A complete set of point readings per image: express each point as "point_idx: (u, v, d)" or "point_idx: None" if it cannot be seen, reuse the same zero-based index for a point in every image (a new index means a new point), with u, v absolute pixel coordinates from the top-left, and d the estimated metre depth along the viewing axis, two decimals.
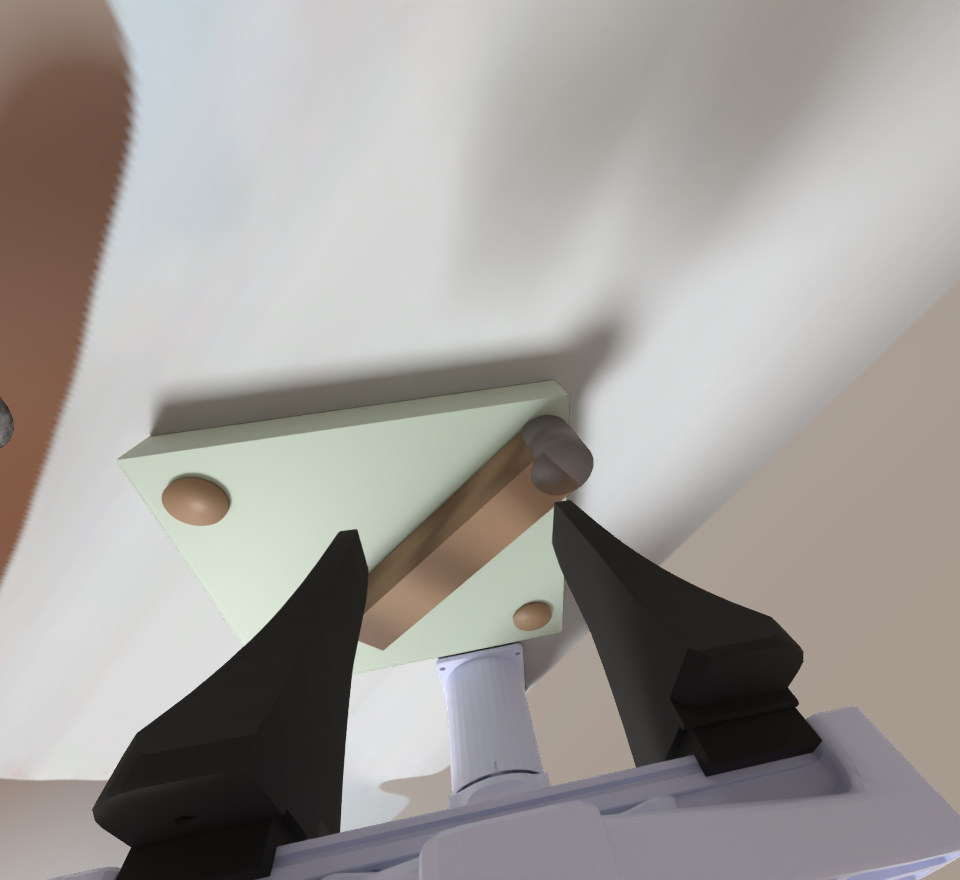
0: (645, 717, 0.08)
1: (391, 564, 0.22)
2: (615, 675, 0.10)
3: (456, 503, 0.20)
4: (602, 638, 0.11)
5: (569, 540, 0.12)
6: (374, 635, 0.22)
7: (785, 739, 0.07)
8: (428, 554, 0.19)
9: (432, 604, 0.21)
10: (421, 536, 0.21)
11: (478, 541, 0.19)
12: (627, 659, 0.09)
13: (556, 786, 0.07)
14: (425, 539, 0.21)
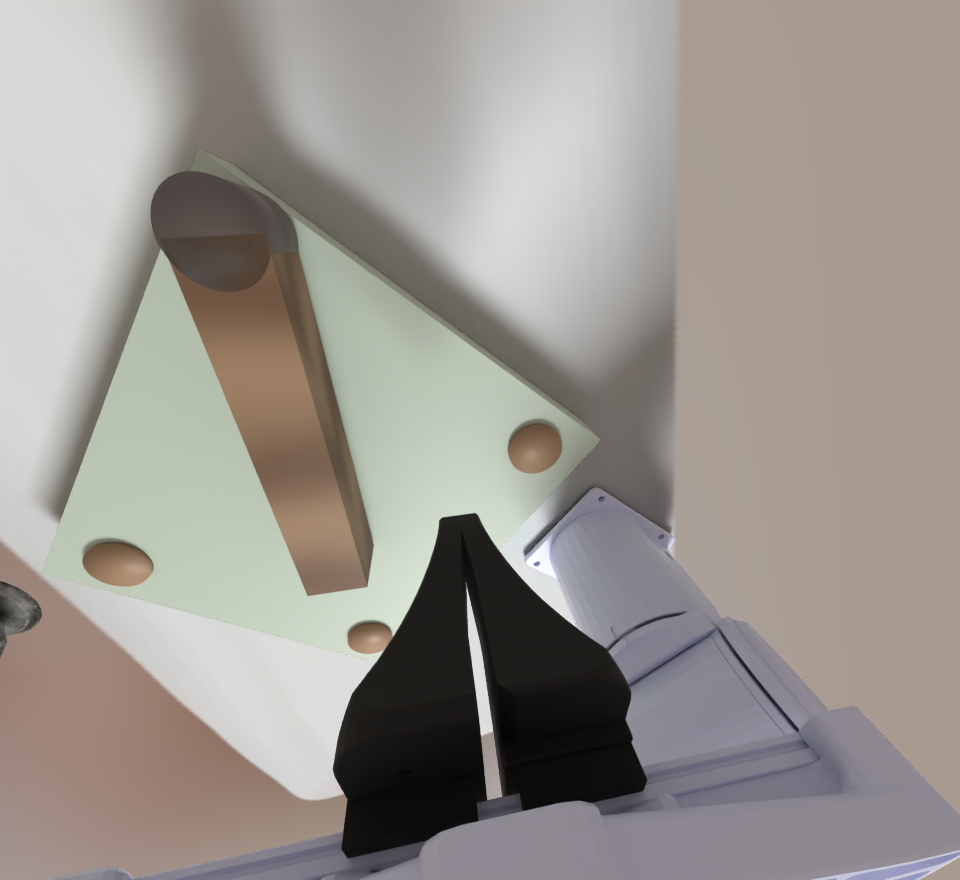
0: (498, 747, 0.08)
1: None
2: (490, 699, 0.10)
3: None
4: (484, 659, 0.10)
5: (465, 555, 0.12)
6: (336, 578, 0.18)
7: (609, 778, 0.06)
8: (256, 469, 0.15)
9: (339, 513, 0.16)
10: None
11: (274, 413, 0.14)
12: (490, 685, 0.09)
13: None
14: None
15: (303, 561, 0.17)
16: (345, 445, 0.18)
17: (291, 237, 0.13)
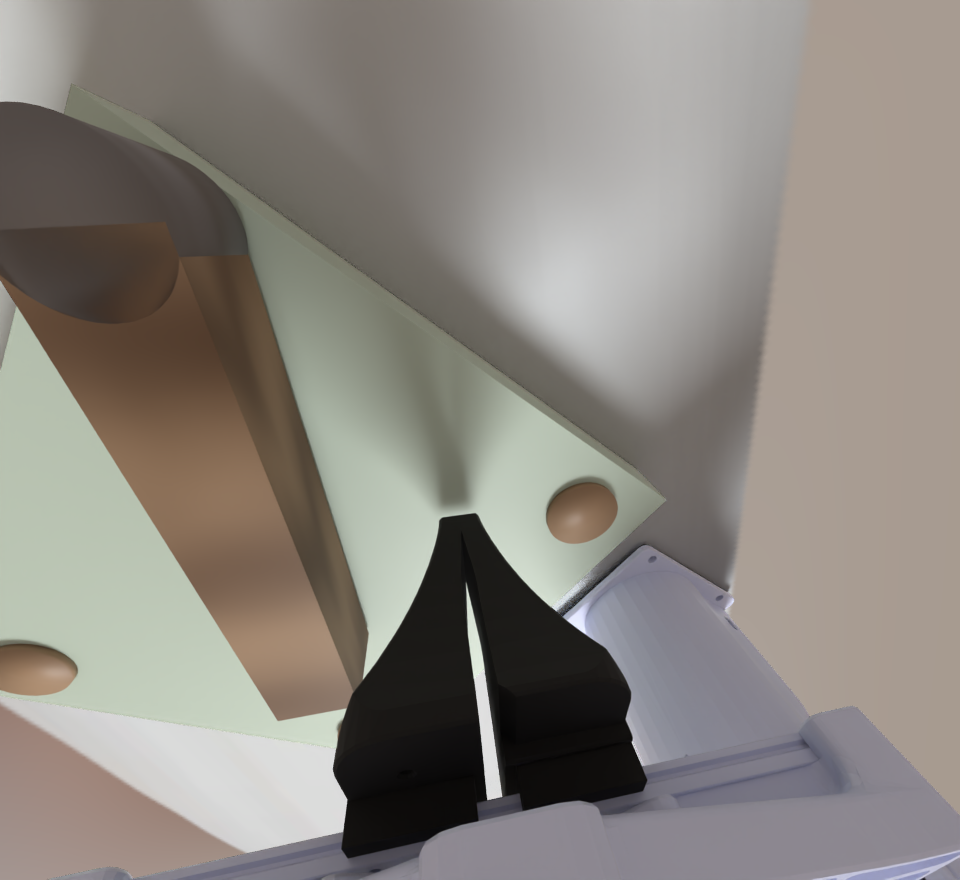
0: (498, 747, 0.08)
1: None
2: (490, 699, 0.10)
3: None
4: (484, 659, 0.10)
5: (465, 555, 0.12)
6: (316, 700, 0.13)
7: (609, 778, 0.06)
8: (190, 576, 0.10)
9: (317, 626, 0.12)
10: None
11: (211, 503, 0.09)
12: (490, 685, 0.09)
13: None
14: None
15: (269, 683, 0.12)
16: (327, 520, 0.13)
17: (232, 231, 0.08)
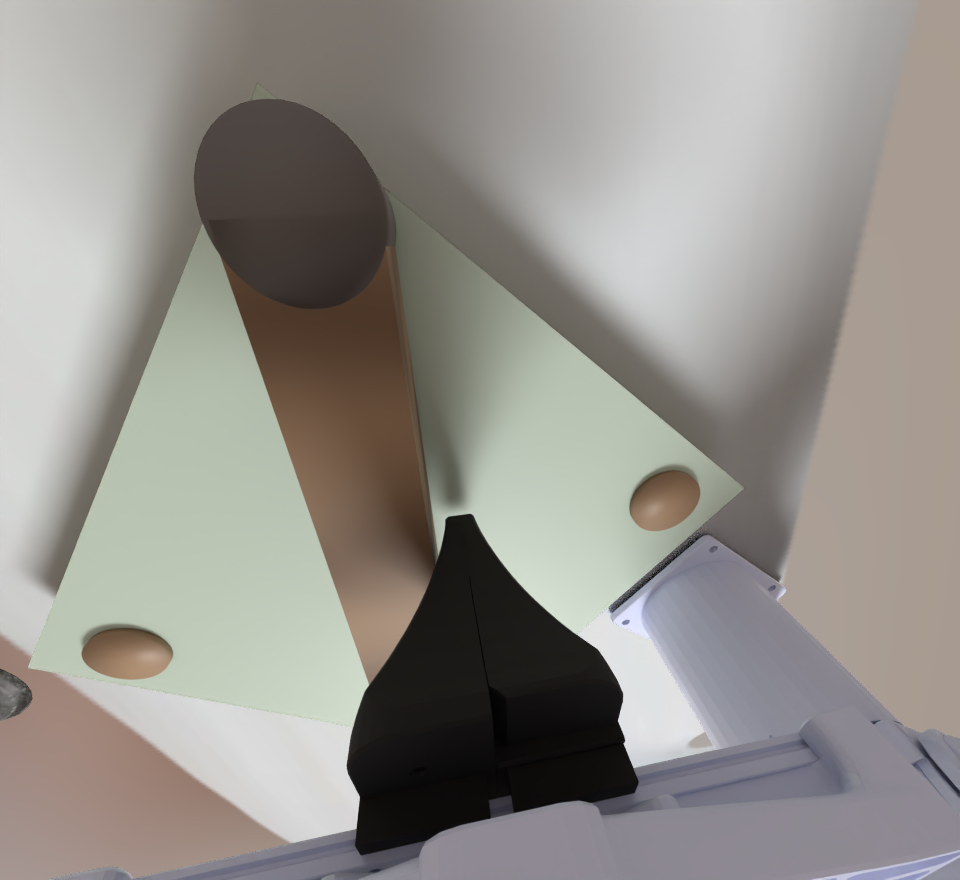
0: None
1: None
2: None
3: None
4: None
5: None
6: None
7: (600, 780, 0.06)
8: (326, 556, 0.10)
9: None
10: None
11: (362, 484, 0.09)
12: None
13: None
14: None
15: (375, 664, 0.13)
16: (430, 507, 0.13)
17: (393, 223, 0.09)
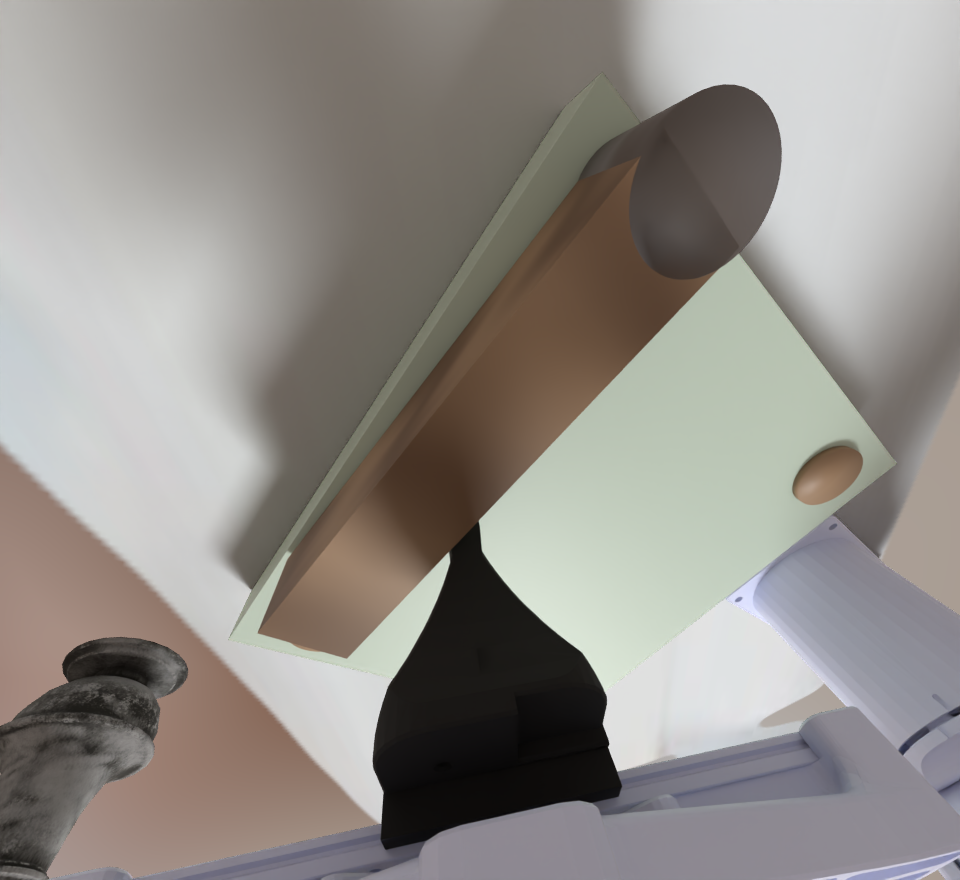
0: None
1: (344, 496, 0.11)
2: None
3: (456, 352, 0.10)
4: None
5: (450, 557, 0.12)
6: (323, 631, 0.11)
7: (583, 784, 0.06)
8: (402, 450, 0.09)
9: (426, 564, 0.11)
10: (394, 432, 0.11)
11: (510, 413, 0.09)
12: None
13: None
14: (400, 432, 0.10)
15: (310, 590, 0.10)
16: None
17: None
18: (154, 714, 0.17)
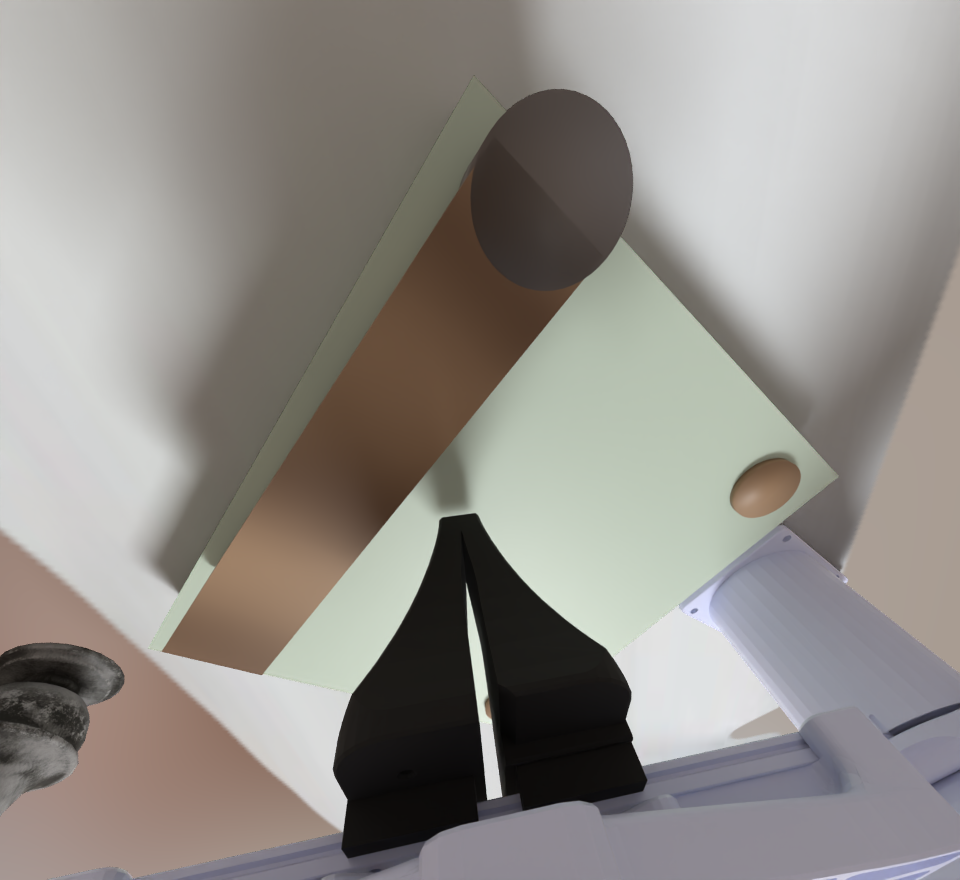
0: (498, 747, 0.08)
1: None
2: (490, 699, 0.10)
3: None
4: (484, 659, 0.10)
5: (465, 555, 0.12)
6: (231, 649, 0.11)
7: (608, 778, 0.06)
8: (278, 469, 0.09)
9: (326, 581, 0.11)
10: None
11: (385, 429, 0.09)
12: (490, 685, 0.09)
13: None
14: None
15: (208, 609, 0.10)
16: None
17: None
18: (81, 721, 0.17)
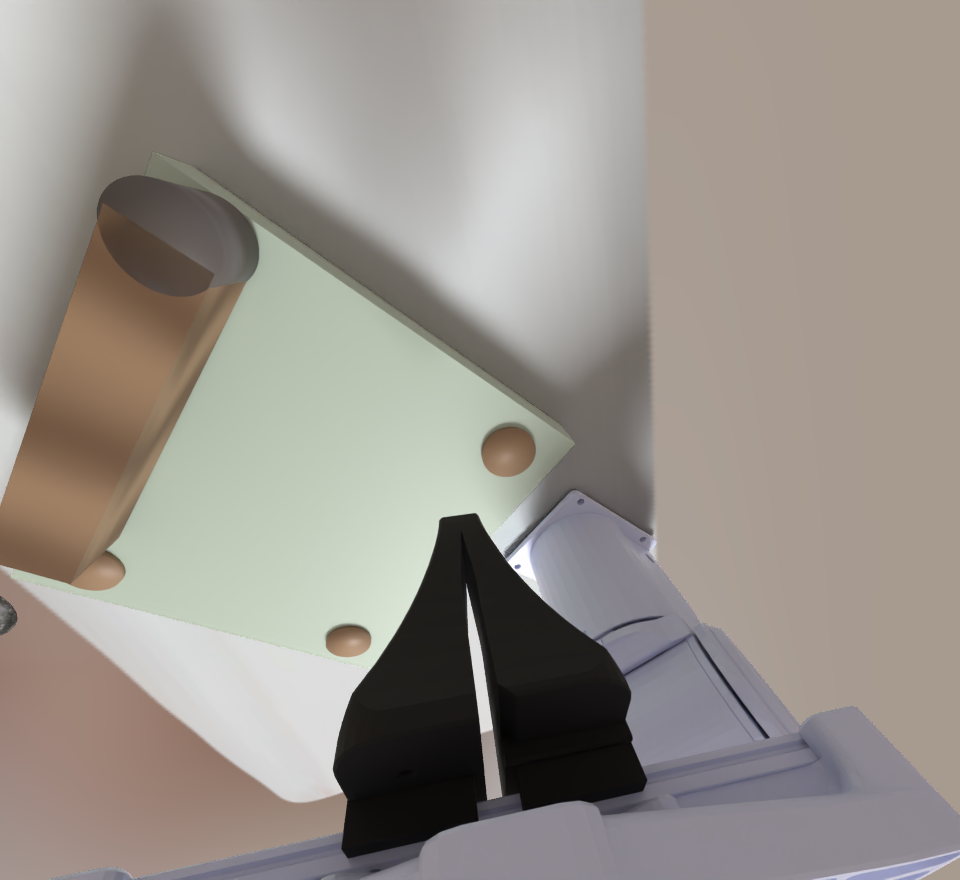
0: (498, 747, 0.08)
1: None
2: (490, 699, 0.10)
3: None
4: (484, 659, 0.10)
5: (465, 555, 0.12)
6: (37, 560, 0.15)
7: (608, 778, 0.06)
8: (31, 419, 0.13)
9: (97, 506, 0.15)
10: None
11: (100, 391, 0.13)
12: (490, 685, 0.09)
13: None
14: None
15: (9, 525, 0.14)
16: (163, 441, 0.16)
17: (247, 273, 0.14)
18: None
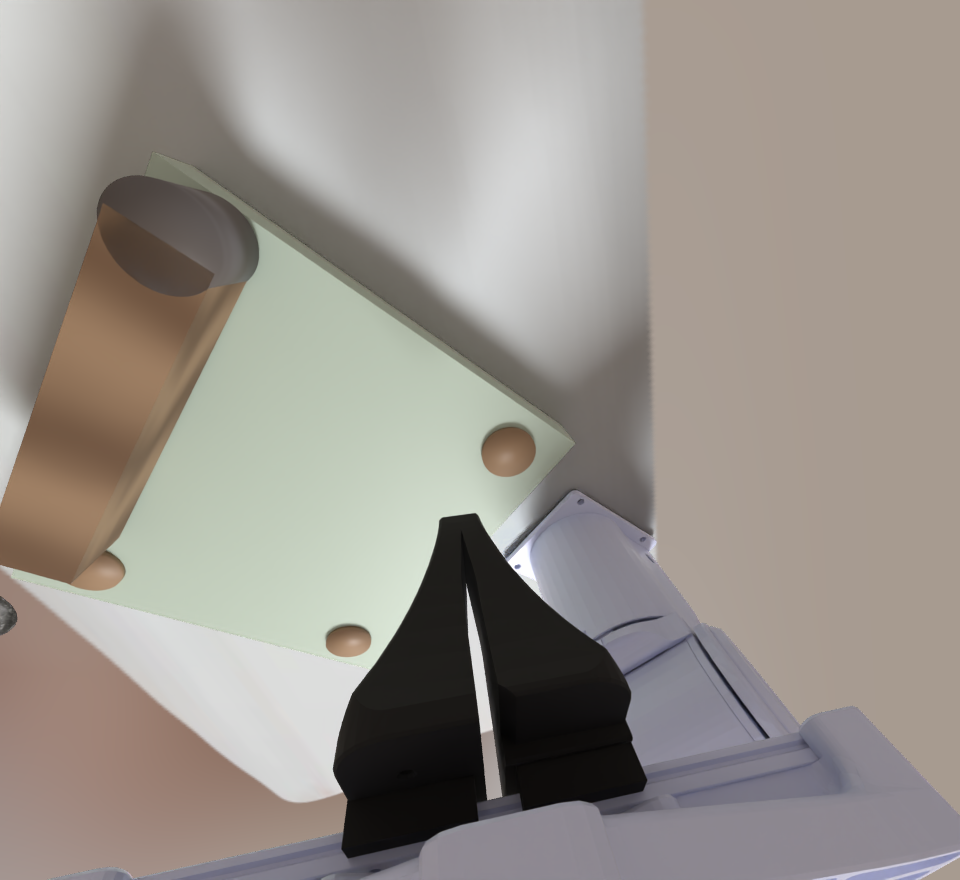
0: (498, 747, 0.08)
1: None
2: (490, 699, 0.10)
3: None
4: (484, 659, 0.10)
5: (465, 555, 0.12)
6: (37, 560, 0.15)
7: (608, 778, 0.06)
8: (31, 419, 0.13)
9: (97, 506, 0.15)
10: None
11: (100, 391, 0.13)
12: (490, 685, 0.09)
13: None
14: None
15: (9, 525, 0.14)
16: (163, 441, 0.16)
17: (247, 273, 0.14)
18: None
